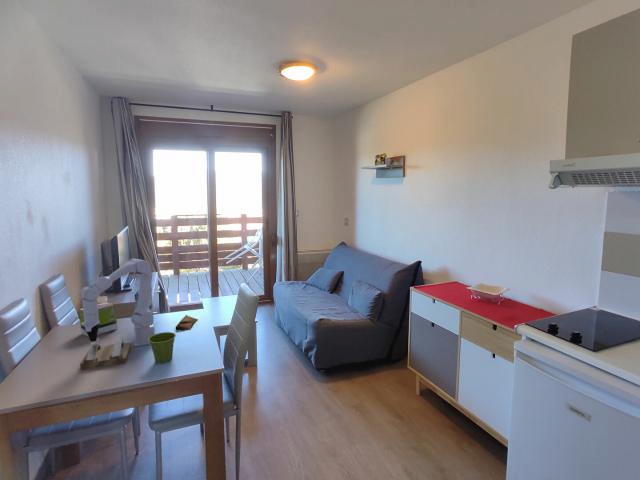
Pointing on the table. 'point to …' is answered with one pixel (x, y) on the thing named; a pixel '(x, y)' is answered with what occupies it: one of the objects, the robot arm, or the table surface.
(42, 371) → the table surface
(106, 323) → the tea box
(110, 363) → the wooden wall rack
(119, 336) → the bar
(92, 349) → the latch
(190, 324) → the sunglasses case
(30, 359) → the table surface
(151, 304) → the gum box
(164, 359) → the plant pot
